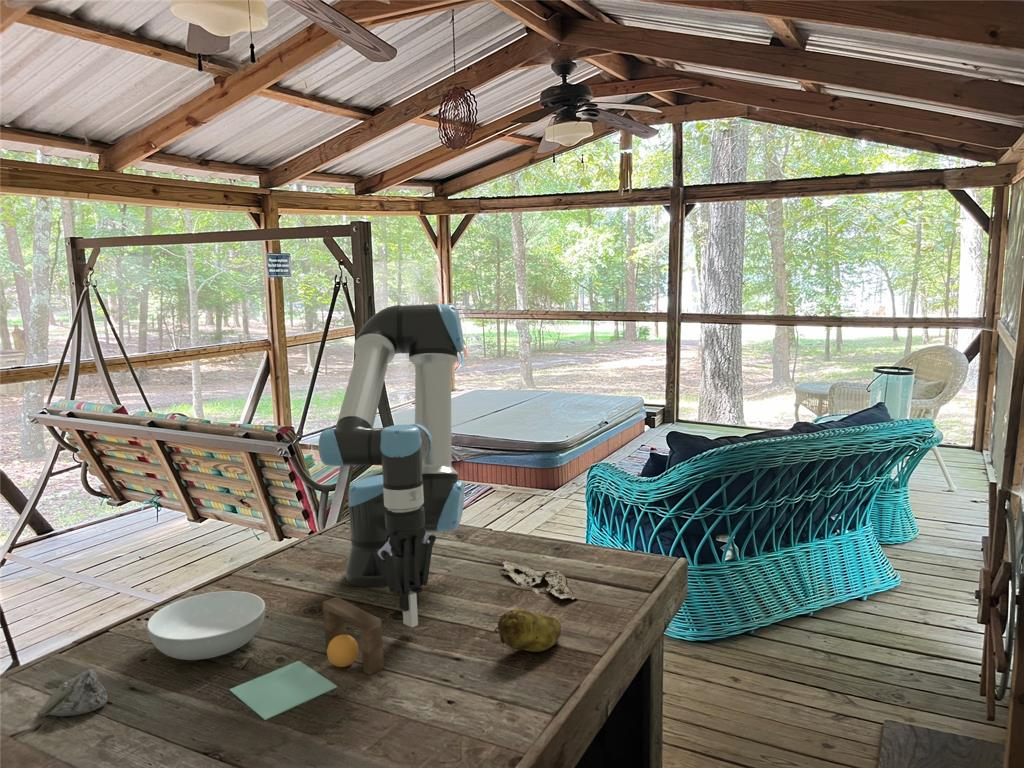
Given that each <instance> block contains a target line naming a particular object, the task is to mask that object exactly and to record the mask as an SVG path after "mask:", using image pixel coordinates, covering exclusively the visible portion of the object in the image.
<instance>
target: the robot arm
mask: <svg viewBox="0 0 1024 768" xmlns="http://www.w3.org/2000/svg"><path fill="white" fill-rule="evenodd" d="M464 346H465V345H464V334H463V328H462V323H461V319H460V314H459V311H458V308H457V307H456V306H454V305H453V304H445V303H444V304H443V303H442V304H441V303H429V304H411V305H409V304H405V305H404V304H403V305H401V304H399V305H398V304H397V305H395V304H394V305H392V306H389V307H386V308H383V309H381V310H379V311H377V312H376V313H375V314H373V316H371V317H370V318H369V319H368V320H367V321H366V322H365V323H364V324H363V326H362V327H361V329H360V330H359V332H358V333H357V334H356V338H355V342H354V345H353V352H354V354H355V358H354V361H353V363H352V364H353V365H352V368H351V370H350V371H351V372H350V375H349V379H348V383H347V386H346V389H345V394H344V397H343V401H342V404H341V408H340V412H339V413H338V414H339V415H338V417H337V421H336V425H335V427H334V428H333V427H331V428H329V429H327V428H326V429H323V430H322V432H321V433H320V435H319V438H318V454H319V459H320V461H321V463H322V464H324V465H325V466H332V467H333V466H334V467H342V468H343V467H352V466H353V467H354V466H381V471H382V474H378V475H373V476H367V477H366V478H363V479H359V480H357V481H356V482H354V483H352V485H351V486H350V487H349V488H348V503H347V506H348V514H349V517H348V518H349V529H350V530H349V531H350V540H351V541H350V543H351V545H350V550H349V554H348V558H347V563H346V565H345V571H344V572H345V580H346V582H347V583H349V584H350V585H353V586H357V587H361V588H362V587H363V588H378V587H384V586H387V587H388V591H389V592H390V593H392V594H394V595H396V596H398V600H399V604H398V605H399V609H400V610H401V611H402V619H403V620H402V621H403V625H406V626H408V627H409V628H414V627H416V626H418V625H419V616H418V614H419V613H418V607H419V606H420V594H421V593H422V592H423V590H424V588H422V587H423V586H427V584H428V582H429V573H430V566H431V559H432V551H433V546H434V544H435V542H436V539H437V537H436V535H434V534H433V533H443V532H444V533H445V532H453V531H455V530H457V529H458V528H459V526H460V524H461V521H462V517H463V511H464V507H465V506H464V505H465V497H466V496H465V494H466V492H465V488H466V487H465V482H464V481H463V480H461V479H459V472H458V471H457V470H456V469H455V468H454V467H453V466H452V366H453V365H454V364H455V363H456V362H457V361H458V354H460V353H462V352H464V349H465V347H464ZM396 354H408V361H409V362H411V363H412V364H413V366H414V373H415V374H414V375H415V377H414V379H415V380H414V382H415V383H414V384H415V385H414V389H415V390H414V423H410V424H396V425H389V426H386V427H374V425H375V420H376V416H377V412H378V407H379V403H380V399H381V395H382V391H383V386H384V382H385V378H386V373H387V370H388V365H389V364H390V363H391V361H393V359H394V358H395V355H396ZM431 533H432V534H431Z"/></svg>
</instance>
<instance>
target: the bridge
mask: <svg viewBox="0 0 1024 768" xmlns="http://www.w3.org/2000/svg"><path fill="white" fill-rule="evenodd" d="M322 608H323V609H322V610H323V622H324V623H323V625H324V638H325V649H326V648H328V645H329V643H330V641H331V640H332V639H333V638H335V637H336V636H338V635H343V634H345V635H346V632H345V631H346V630H345V621H346V622H348V623H350V624H352V625H354V626H355V627H358V628H360V640H361V643H360V644H361V656H362V657H361V659H362V671H363V673H365V674H367V675H369V676H370V675H373V674H375V673H377V672H379V671H382V670H384V668H385V667H384V666H385V665H384V662H385V661H384V648H383V636H382V635H383V633H382V632H383V630H382V619H381V618H379V617H377V616H375V615H373V614H371V613H369V612H367V611H365V610H363V609H361V608H360V607H357V606H356V605H354V604H352V603H350V602H347V601H346V600H344V599H342V598H340V597H338V596H335V597H332V598H330V599H327V600H324V601H322Z"/></svg>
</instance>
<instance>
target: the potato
mask: <svg viewBox="0 0 1024 768" xmlns="http://www.w3.org/2000/svg"><path fill="white" fill-rule="evenodd" d="M497 630H498V634H499V635H498V636H499V637H500V642H501V643H502V644H503V645H504V644H505V645H506V646H508V647H509V648H510V649H512V650H519V651H527V652H531V653H538V652H543V651H547V650H548V649H550V648H553V646H554V645H555V644H556V643H557V642H558V640H559V639H560V636H561V632H562V625H561V622H560V621H559V619H558V618H556V617H554V616H552V615H549V614H545V613H537V612H533V611H530V610H528V609H522V608H515V609H512V610H509V611H507V612H505V613H503V614H502V615H500V618H499V619H498V622H497Z"/></svg>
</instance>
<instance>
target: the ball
mask: <svg viewBox="0 0 1024 768" xmlns="http://www.w3.org/2000/svg"><path fill="white" fill-rule="evenodd" d="M358 654H359V644H358V642H357V640H356V639H355V638H354V637H352V636H351V635H349V634H346V633H345V634H343V635H338V636H336V637H335V638H333V639H332V640H331V641H330V643H329V645H328V648H327V649H326V655H327V658H328V661H329V662H330V664H332V665H334V666H335V667H338V668H344V667H348V666H351V664H353V663H354V662H355V660H356V659H357V657H358Z"/></svg>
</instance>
